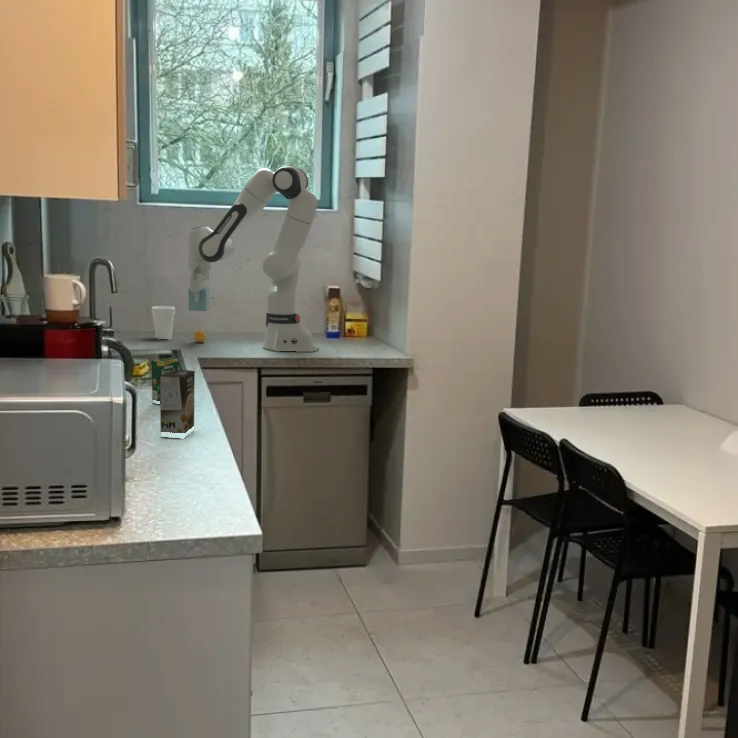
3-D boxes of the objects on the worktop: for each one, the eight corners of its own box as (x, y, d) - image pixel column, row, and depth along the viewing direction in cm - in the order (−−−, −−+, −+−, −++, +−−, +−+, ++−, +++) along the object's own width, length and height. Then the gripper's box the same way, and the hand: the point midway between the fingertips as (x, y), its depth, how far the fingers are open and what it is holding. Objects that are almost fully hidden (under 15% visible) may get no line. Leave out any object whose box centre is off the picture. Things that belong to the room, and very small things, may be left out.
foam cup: (151, 336, 377) (151, 306, 375) (173, 336, 380) (173, 306, 378) (153, 340, 368) (152, 309, 366) (176, 340, 371) (175, 308, 369)
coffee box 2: (157, 405, 259) (156, 360, 257) (151, 403, 261) (150, 359, 259) (179, 401, 265) (179, 357, 263) (173, 399, 267) (173, 356, 265)
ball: (205, 343, 366) (207, 341, 371) (204, 331, 365) (206, 329, 370) (192, 343, 366) (195, 341, 370) (192, 331, 365) (194, 329, 369)
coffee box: (184, 439, 225) (184, 377, 222) (159, 438, 226) (159, 375, 223) (195, 430, 234) (195, 370, 231) (171, 429, 235) (170, 368, 232)
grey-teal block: (209, 308, 369) (209, 287, 367) (206, 311, 362) (205, 289, 360) (192, 307, 369) (192, 286, 367) (188, 310, 362) (188, 288, 360)
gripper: (202, 269, 352) (202, 304, 355) (211, 265, 372) (211, 298, 375) (186, 268, 352) (186, 303, 355) (196, 264, 372) (196, 297, 375)
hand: (199, 300), depth 365 cm, fingers closed on grey-teal block, 7 cm apart
